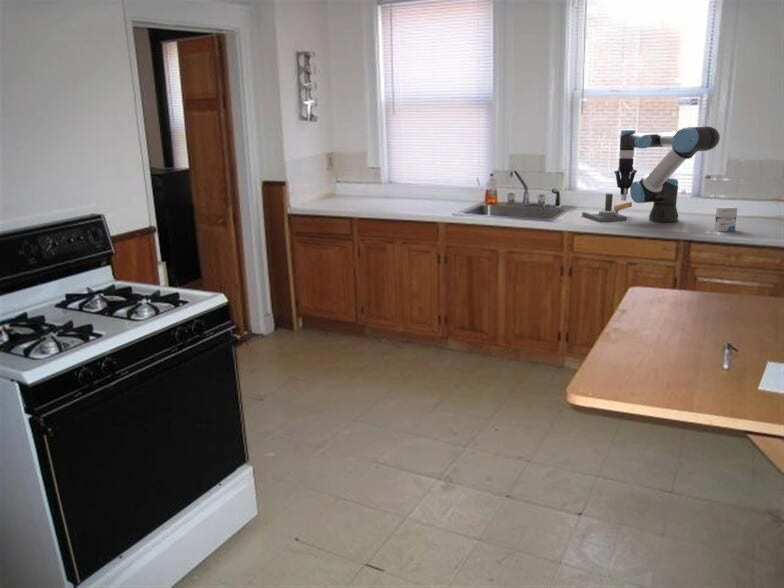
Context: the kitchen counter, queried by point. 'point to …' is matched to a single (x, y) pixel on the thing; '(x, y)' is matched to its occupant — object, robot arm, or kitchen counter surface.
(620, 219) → the socket board
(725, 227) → the ink box
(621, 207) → the clip
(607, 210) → the plug
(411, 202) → the kitchen counter surface
